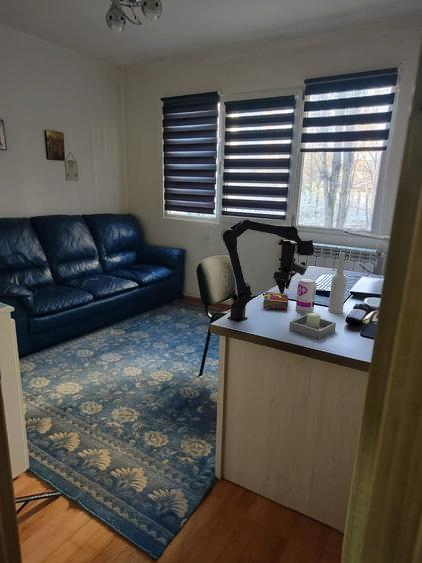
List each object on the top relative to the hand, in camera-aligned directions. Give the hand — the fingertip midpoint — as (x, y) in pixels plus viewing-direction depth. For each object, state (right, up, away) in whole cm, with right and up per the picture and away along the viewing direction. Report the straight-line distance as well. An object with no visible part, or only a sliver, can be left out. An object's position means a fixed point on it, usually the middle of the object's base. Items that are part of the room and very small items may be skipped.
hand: (284, 291), depth 154 cm
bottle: (+27, -10, +15) cm, 33 cm away
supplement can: (+12, -10, +14) cm, 21 cm away
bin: (+9, -16, -9) cm, 20 cm away
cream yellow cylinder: (+9, -15, -10) cm, 20 cm away
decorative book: (0, -8, +22) cm, 23 cm away
